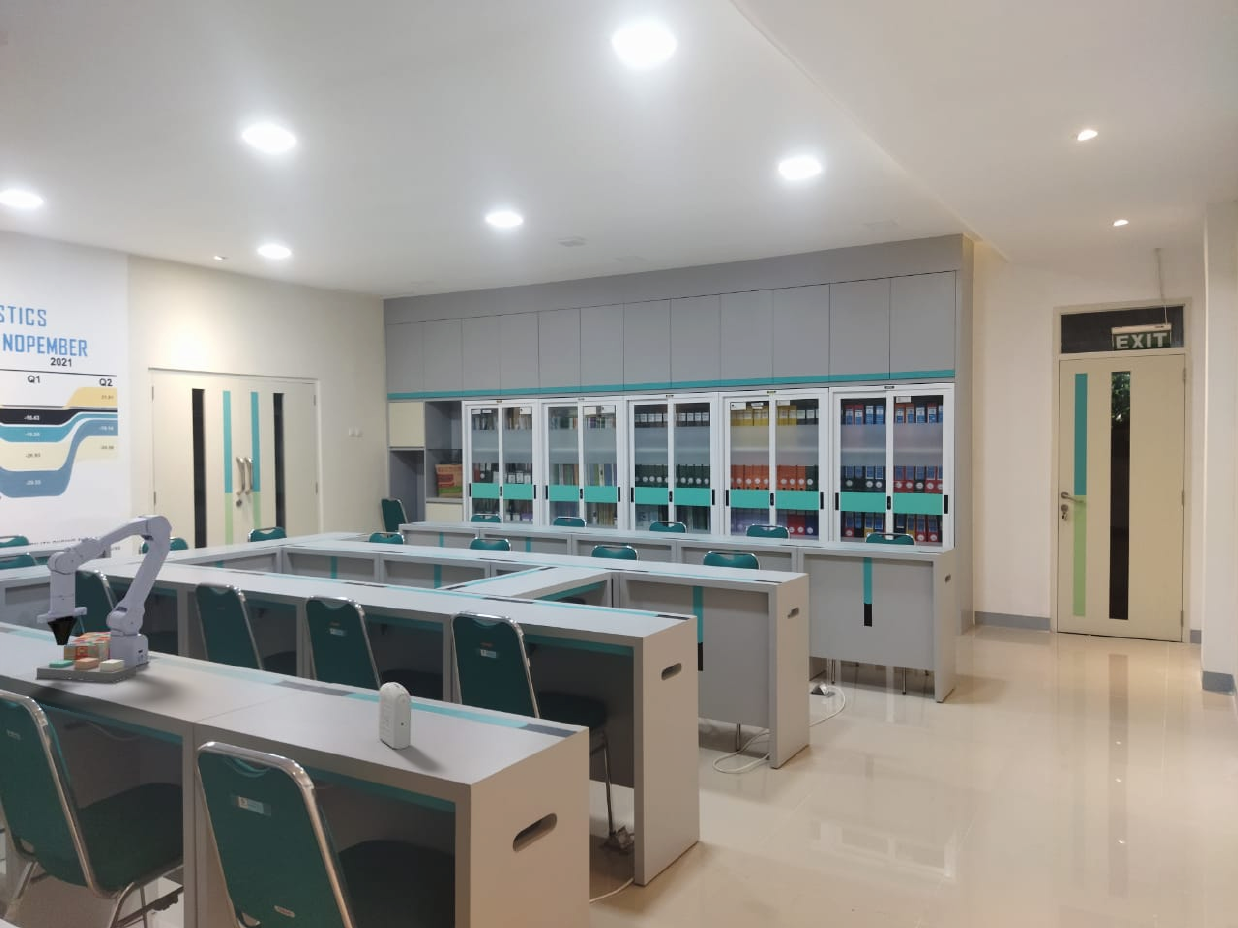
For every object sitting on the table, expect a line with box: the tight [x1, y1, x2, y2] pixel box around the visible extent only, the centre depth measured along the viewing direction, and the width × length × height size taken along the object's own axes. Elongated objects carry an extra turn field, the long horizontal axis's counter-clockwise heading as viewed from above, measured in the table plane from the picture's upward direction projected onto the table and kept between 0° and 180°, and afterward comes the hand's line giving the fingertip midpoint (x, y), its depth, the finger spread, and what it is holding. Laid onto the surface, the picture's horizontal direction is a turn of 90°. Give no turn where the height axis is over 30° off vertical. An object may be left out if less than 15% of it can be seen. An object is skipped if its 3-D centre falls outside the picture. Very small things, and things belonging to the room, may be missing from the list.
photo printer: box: [378, 682, 412, 750], centre depth 178 cm, size 10×4×12 cm, turn 35°
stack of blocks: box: [63, 631, 111, 664], centre depth 252 cm, size 21×6×12 cm
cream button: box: [100, 659, 124, 671], centre depth 229 cm, size 4×4×4 cm
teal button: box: [48, 660, 74, 668], centre depth 232 cm, size 4×4×4 cm
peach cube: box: [74, 658, 99, 669], centre depth 231 cm, size 4×4×4 cm
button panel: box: [36, 662, 137, 683], centre depth 231 cm, size 24×8×2 cm, turn 79°
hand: (62, 644), depth 232 cm, fingers closed
